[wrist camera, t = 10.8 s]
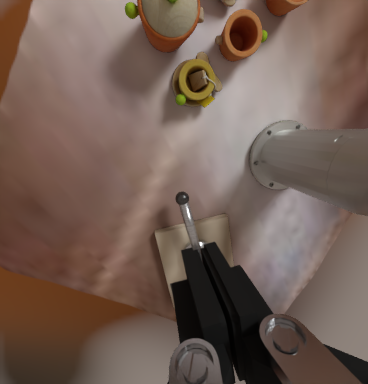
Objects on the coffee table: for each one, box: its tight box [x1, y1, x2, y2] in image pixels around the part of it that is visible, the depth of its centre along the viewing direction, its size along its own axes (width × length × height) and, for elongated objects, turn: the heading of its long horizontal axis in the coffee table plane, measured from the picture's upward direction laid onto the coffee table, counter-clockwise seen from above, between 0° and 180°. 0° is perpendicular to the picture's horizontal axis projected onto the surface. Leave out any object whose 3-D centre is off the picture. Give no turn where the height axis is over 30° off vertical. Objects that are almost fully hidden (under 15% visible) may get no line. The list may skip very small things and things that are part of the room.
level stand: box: [155, 214, 234, 309], centre depth 41 cm, size 14×18×2 cm
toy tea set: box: [125, 0, 308, 108], centre depth 26 cm, size 26×16×10 cm, turn 132°
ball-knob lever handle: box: [176, 192, 207, 260], centre depth 36 cm, size 23×6×4 cm, turn 15°
